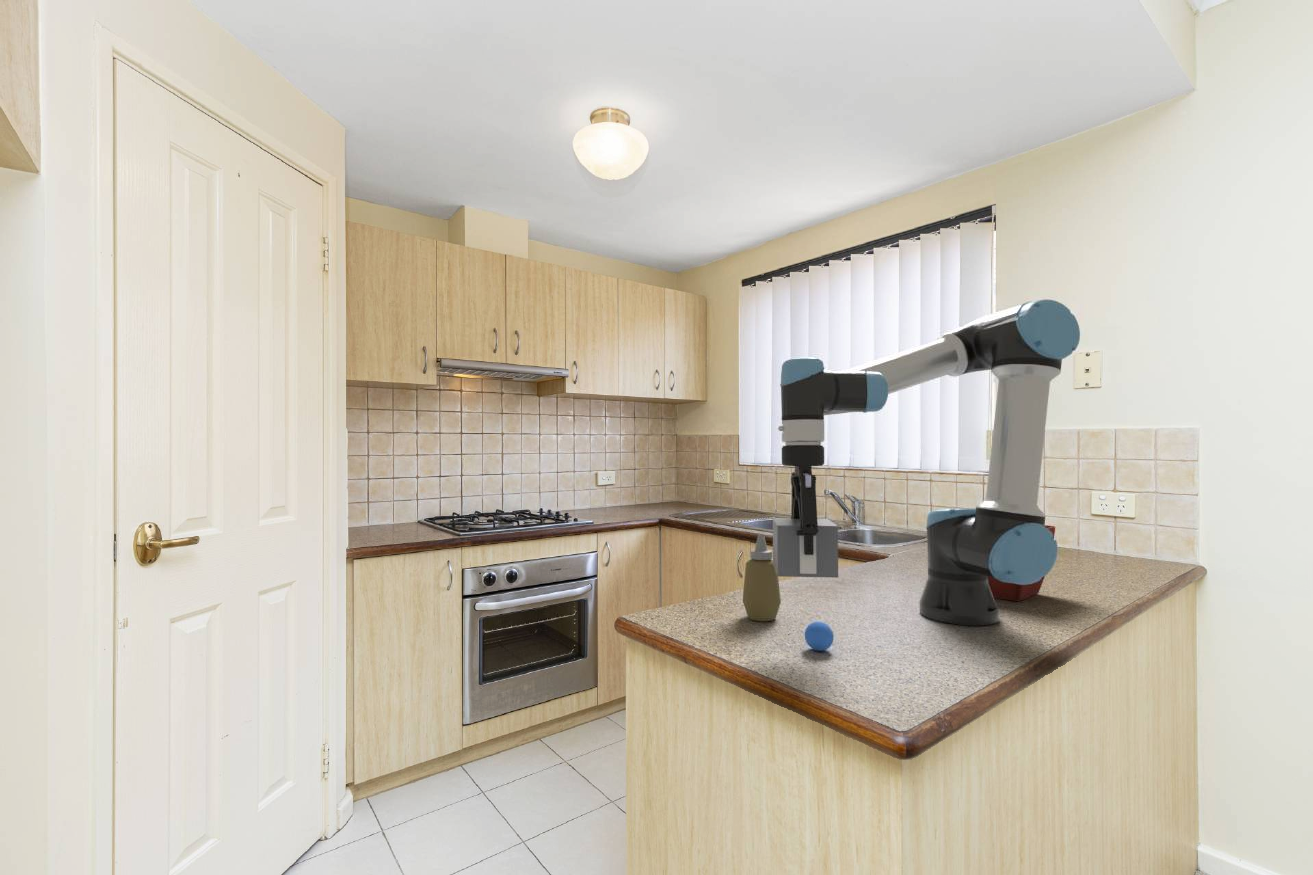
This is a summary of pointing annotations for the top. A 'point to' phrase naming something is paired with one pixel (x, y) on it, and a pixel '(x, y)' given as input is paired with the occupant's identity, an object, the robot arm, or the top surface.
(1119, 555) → the top surface
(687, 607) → the top surface
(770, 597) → the squeeze bottle
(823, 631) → the ball
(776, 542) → the grey cubic block
